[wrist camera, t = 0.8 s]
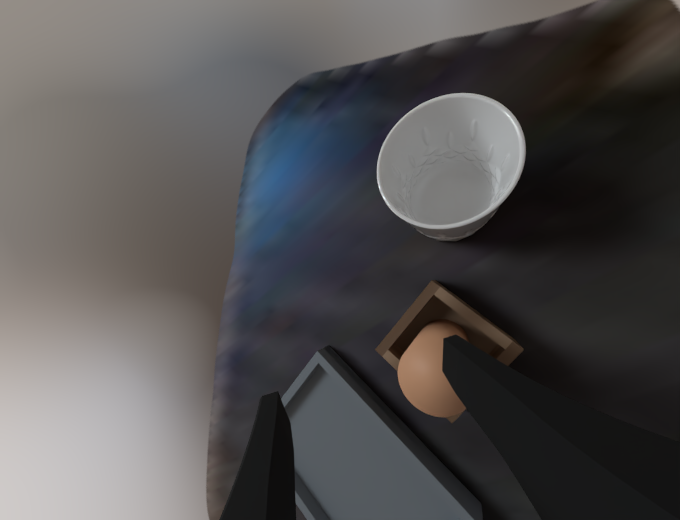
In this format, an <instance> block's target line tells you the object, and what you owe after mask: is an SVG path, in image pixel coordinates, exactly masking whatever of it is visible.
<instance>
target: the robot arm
mask: <svg viewBox="0 0 680 520" xmlns="http://www.w3.org/2000/svg"><path fill="white" fill-rule="evenodd" d="M442 371H443V373H444V375H445V377H446V378H447V380H448V382H449V384H450V385H451V387H452V388H453V390H454V392H455V393H456V395H457V396H458V398H459V399H460V400H461V402H462V403H463V404H464V406H465V407H466V408H467V410H468V411H469V412H470V414H471V415H472V416H473V418H474V419H475V420H476V422H477V423H478V424H479V426H480V427H481V428H482V430H483V431H484V432H485V434H486V435H487V436H488V438H489V439H490V440H491V442H492V443H493V444H494V446H495V447H496V448H497V450H498V451H499V453H500V454H501V455H502V457H503V458H504V460H505V461H506V463H507V465H508V466H509V468H510V469H511V471H512V472H513V474H514V476H515V477H516V479H517V480H518V482H519V483H520V485H521V487H522V488H523V490H524V491H525V493H526V495H527V496H528V498H529V500H530V501H531V503H532V505H533V506H534V508H535V509H536V511H537V513H538V514H539V516H540V518H541V519H542V520H680V442H677V441H674V440H671V439H669V438H666V437H663V436H660V435H658V434H655V433H652V432H649V431H647V430H644V429H641V428H639V427H636V426H633V425H631V424H628V423H626V422H623V421H621V420H618V419H616V418H613V417H611V416H609V415H606V414H604V413H601V412H599V411H596V410H594V409H592V408H589V407H587V406H585V405H583V404H580V403H578V402H576V401H574V400H572V399H570V398H568V397H566V396H563V395H561V394H559V393H557V392H555V391H553V390H551V389H549V388H547V387H545V386H543V385H541V384H539V383H537V382H536V381H534V380H532V379H530V378H528V377H526V376H524V375H523V374H521V373H519V372H517V371H515V370H514V369H512V368H510V367H509V366H507V365H505V364H504V363H502V362H500V361H498V360H497V359H495V358H493V357H492V356H490V355H489V354H487V353H485V352H484V351H482V350H480V349H479V348H477V347H476V346H474V345H472V344H471V343H469V342H468V341H466V340H464V339H463V338H461V337H460V336H458V335H452V336H449V337H446V338H443V363H442ZM220 520H296V502H295V466H294V447H293V438H292V430H291V423H290V420H289V418H288V415H287V413H286V410H285V408H284V405H283V403H282V400H281V398H280V395H279V393H278V391H277V392H274V393H271V394H268V395H265V396H262V397H261V399H260V402H259V407H258V411H257V415H256V418H255V422H254V425H253V429H252V432H251V435H250V439H249V442H248V445H247V448H246V451H245V454H244V457H243V460H242V463H241V466H240V469H239V471H238V474H237V477H236V479H235V482H234V485H233V487H232V490H231V492H230V495H229V498H228V500H227V503H226V505H225V508H224V510H223V512H222V515H221V517H220Z"/></svg>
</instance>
